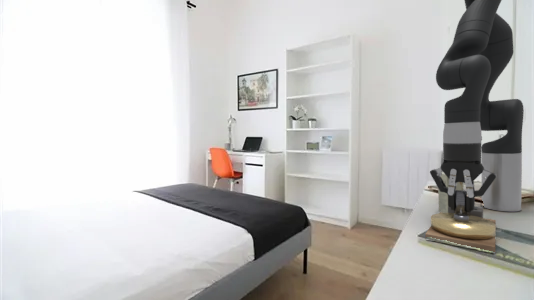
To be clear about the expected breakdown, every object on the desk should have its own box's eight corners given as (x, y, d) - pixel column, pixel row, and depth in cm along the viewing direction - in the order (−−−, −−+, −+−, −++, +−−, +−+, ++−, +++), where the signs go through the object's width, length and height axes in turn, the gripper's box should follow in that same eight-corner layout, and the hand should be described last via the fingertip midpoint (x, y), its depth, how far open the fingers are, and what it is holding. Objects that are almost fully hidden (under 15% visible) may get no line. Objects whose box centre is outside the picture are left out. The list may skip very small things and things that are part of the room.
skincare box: (464, 217, 74) (464, 174, 73) (447, 216, 75) (447, 174, 74) (453, 210, 80) (453, 171, 79) (437, 210, 81) (437, 171, 80)
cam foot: (432, 217, 69) (432, 188, 69) (492, 225, 62) (492, 192, 62) (429, 232, 59) (428, 198, 59) (499, 243, 52) (499, 204, 52)
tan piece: (439, 217, 74) (439, 201, 74) (495, 225, 66) (495, 207, 66) (425, 240, 59) (425, 220, 59) (495, 254, 51) (495, 231, 51)
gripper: (424, 142, 66) (425, 209, 67) (498, 141, 56) (496, 220, 57) (432, 140, 71) (432, 202, 72) (500, 140, 61) (499, 212, 62)
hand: (461, 210), depth 65 cm, fingers closed on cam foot, 2 cm apart
